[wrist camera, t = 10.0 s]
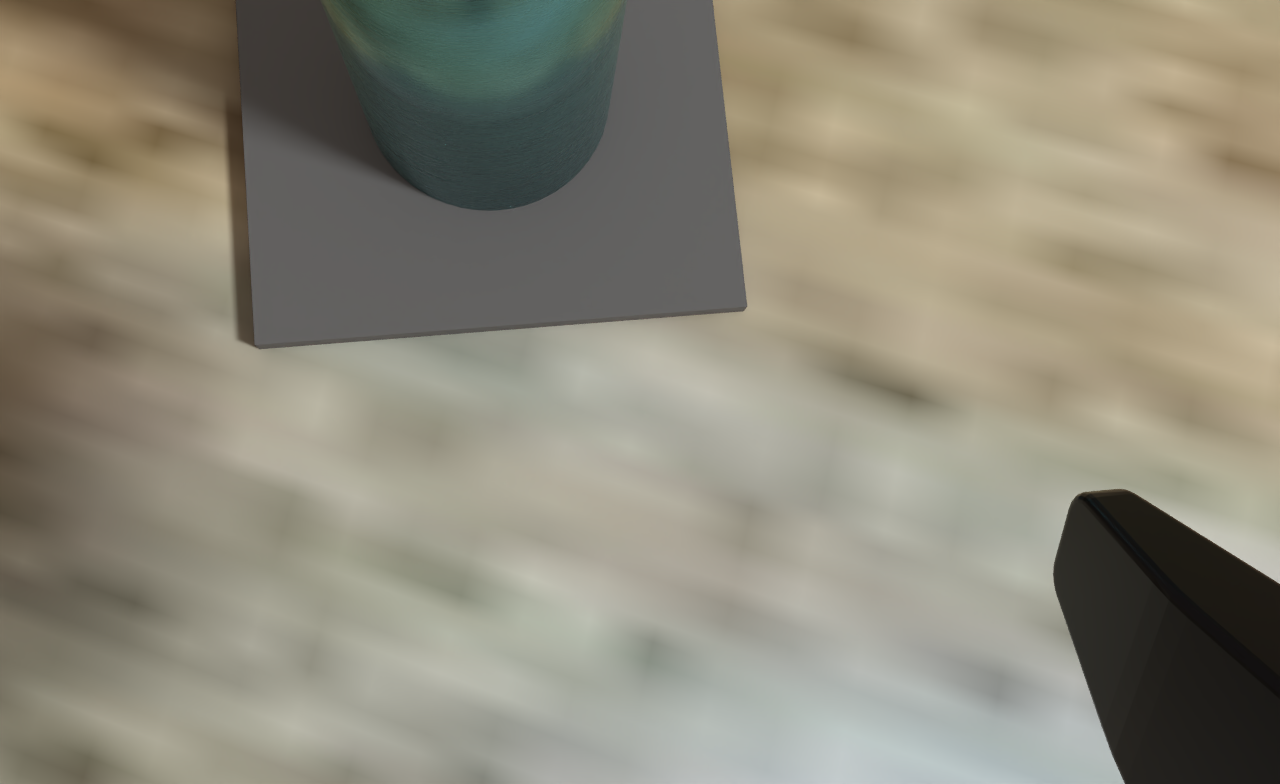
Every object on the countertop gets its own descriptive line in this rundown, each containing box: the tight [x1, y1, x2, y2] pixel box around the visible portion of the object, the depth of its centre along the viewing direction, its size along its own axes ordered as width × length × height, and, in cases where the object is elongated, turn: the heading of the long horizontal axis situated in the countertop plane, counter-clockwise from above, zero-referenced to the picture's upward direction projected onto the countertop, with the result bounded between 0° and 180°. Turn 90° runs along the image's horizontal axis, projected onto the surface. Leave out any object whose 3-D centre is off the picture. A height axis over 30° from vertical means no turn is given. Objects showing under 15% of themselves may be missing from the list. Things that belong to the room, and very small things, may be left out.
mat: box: [236, 0, 747, 349], centre depth 23 cm, size 9×9×1 cm
